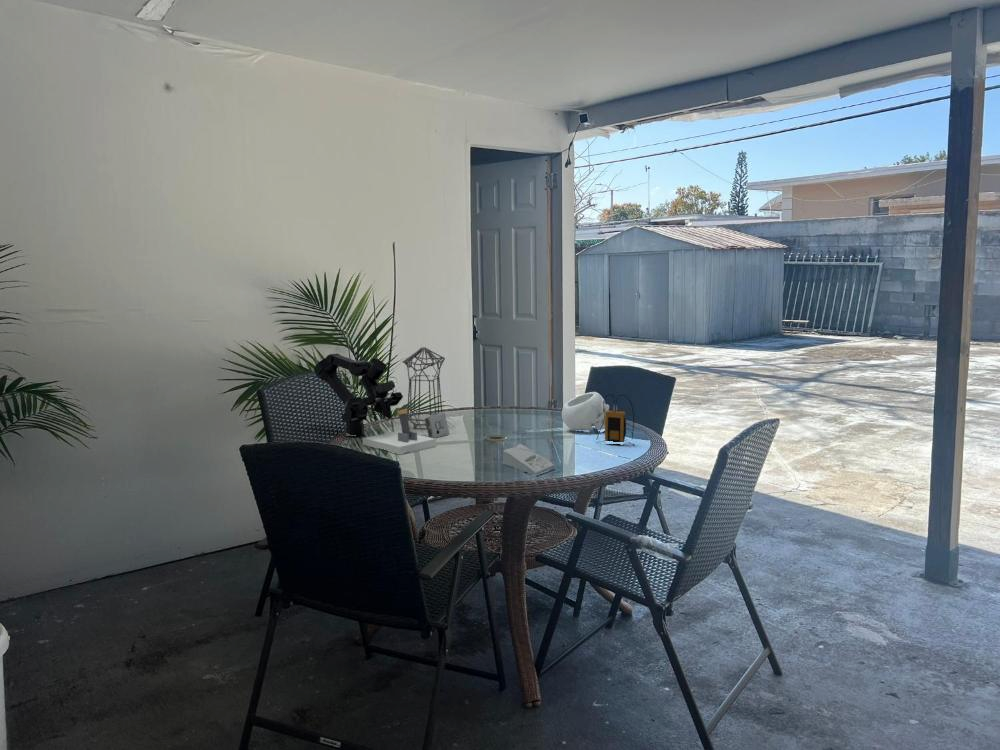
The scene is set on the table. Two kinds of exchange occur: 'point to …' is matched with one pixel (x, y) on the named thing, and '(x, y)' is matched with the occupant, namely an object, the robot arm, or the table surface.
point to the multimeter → (615, 424)
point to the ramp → (526, 460)
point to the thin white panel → (400, 442)
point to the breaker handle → (404, 421)
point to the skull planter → (585, 412)
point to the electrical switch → (437, 425)
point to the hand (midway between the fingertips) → (390, 418)
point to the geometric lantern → (423, 380)
